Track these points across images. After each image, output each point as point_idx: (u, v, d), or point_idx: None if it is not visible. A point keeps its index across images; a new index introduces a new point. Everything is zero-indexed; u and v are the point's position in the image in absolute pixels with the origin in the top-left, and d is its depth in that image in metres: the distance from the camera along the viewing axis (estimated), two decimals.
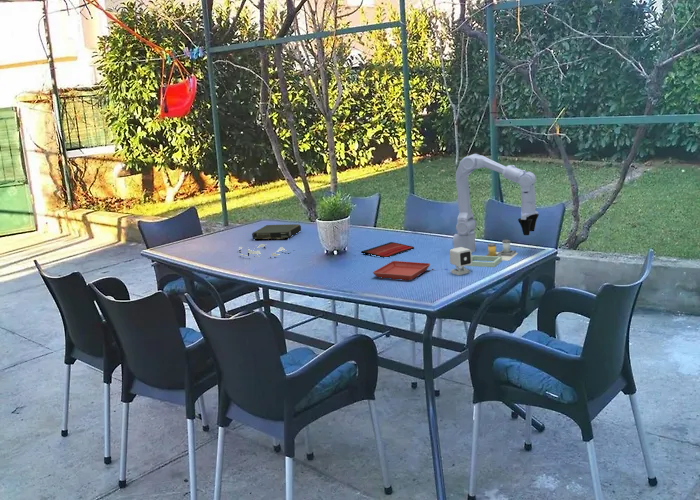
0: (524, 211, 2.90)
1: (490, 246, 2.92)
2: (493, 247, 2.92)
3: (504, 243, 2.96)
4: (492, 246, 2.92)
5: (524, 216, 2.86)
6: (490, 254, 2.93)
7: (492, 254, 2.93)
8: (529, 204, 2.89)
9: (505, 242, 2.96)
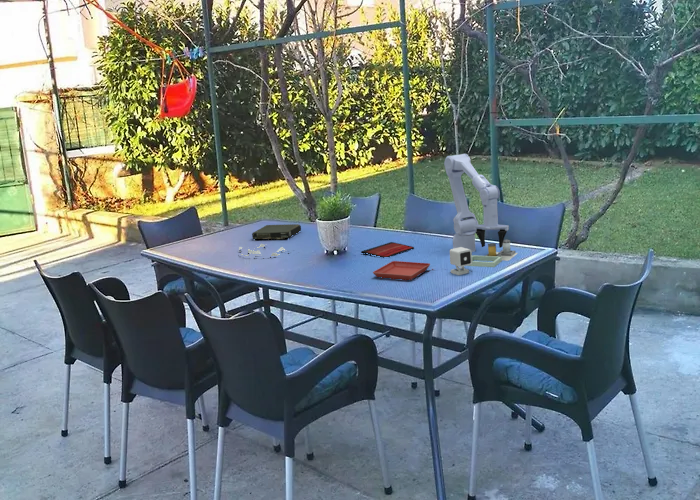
0: None
1: (490, 246, 2.92)
2: (493, 247, 2.92)
3: (504, 243, 2.96)
4: (492, 246, 2.92)
5: None
6: (490, 254, 2.93)
7: (492, 254, 2.93)
8: (484, 217, 2.91)
9: (505, 242, 2.96)
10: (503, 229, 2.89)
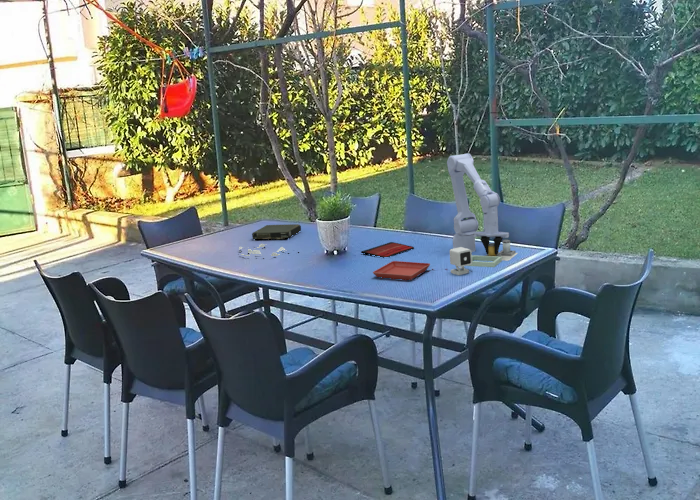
0: None
1: (490, 246, 2.92)
2: (493, 247, 2.92)
3: (504, 243, 2.96)
4: (492, 246, 2.92)
5: None
6: (490, 254, 2.93)
7: (492, 254, 2.93)
8: (484, 224, 2.91)
9: (505, 242, 2.96)
10: (503, 236, 2.89)
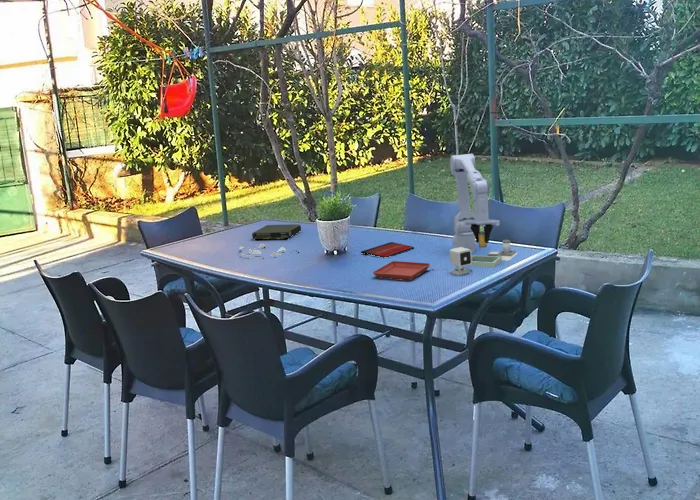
0: None
1: (480, 234, 2.84)
2: (484, 235, 2.84)
3: (504, 243, 2.96)
4: (483, 235, 2.84)
5: None
6: (480, 243, 2.85)
7: (482, 243, 2.84)
8: (474, 212, 2.83)
9: (505, 242, 2.96)
10: (494, 224, 2.81)
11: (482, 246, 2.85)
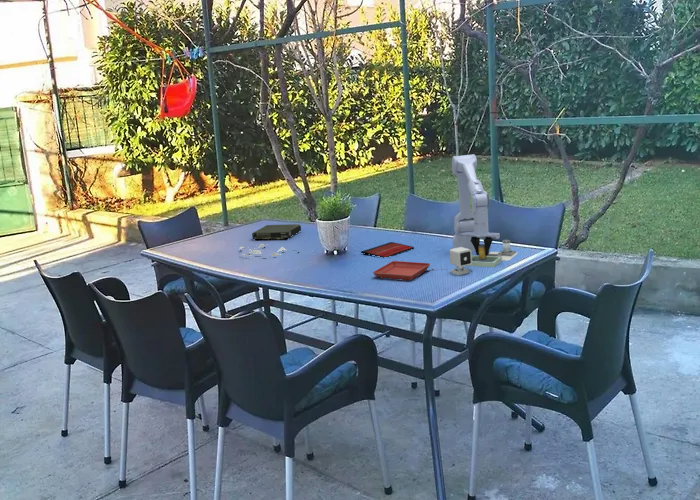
0: None
1: (480, 247, 2.85)
2: (484, 248, 2.85)
3: (504, 243, 2.96)
4: (483, 247, 2.85)
5: None
6: (480, 255, 2.86)
7: (482, 255, 2.85)
8: (474, 225, 2.84)
9: (505, 242, 2.96)
10: (494, 237, 2.82)
11: (482, 259, 2.86)
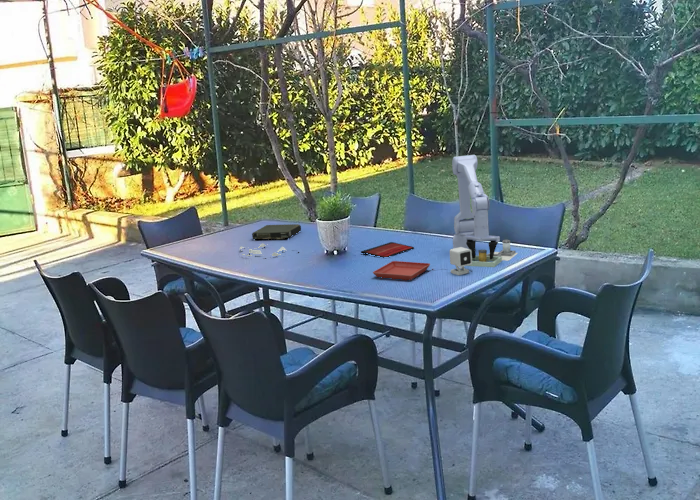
0: None
1: (480, 252, 2.85)
2: (484, 254, 2.85)
3: (504, 243, 2.96)
4: (483, 253, 2.85)
5: None
6: (480, 261, 2.86)
7: (482, 261, 2.86)
8: (474, 228, 2.84)
9: (505, 242, 2.96)
10: (494, 240, 2.82)
11: None
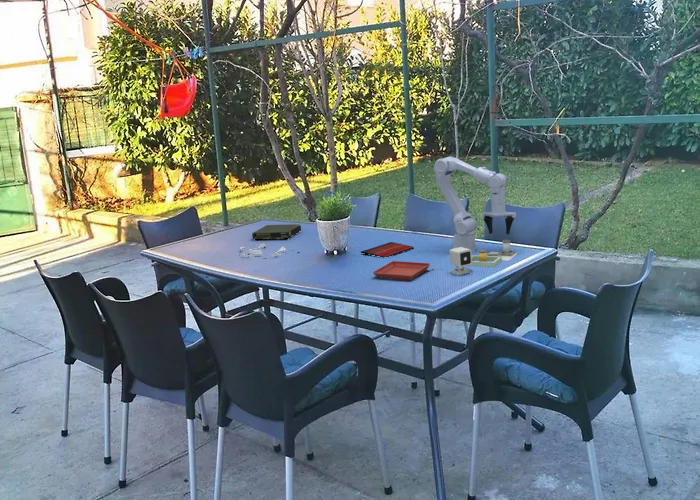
0: None
1: (480, 252, 2.85)
2: (484, 254, 2.85)
3: (504, 243, 2.96)
4: (483, 253, 2.85)
5: None
6: (480, 261, 2.86)
7: (482, 261, 2.86)
8: None
9: (505, 242, 2.96)
10: (510, 216, 2.94)
11: None
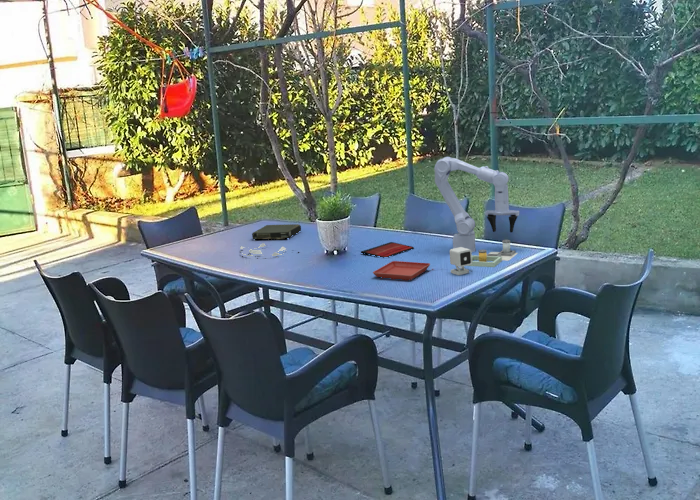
0: None
1: (480, 252, 2.85)
2: (484, 253, 2.85)
3: (504, 243, 2.96)
4: (483, 253, 2.85)
5: None
6: (480, 261, 2.86)
7: (482, 261, 2.86)
8: (495, 203, 2.99)
9: (505, 242, 2.96)
10: (514, 214, 2.97)
11: None
